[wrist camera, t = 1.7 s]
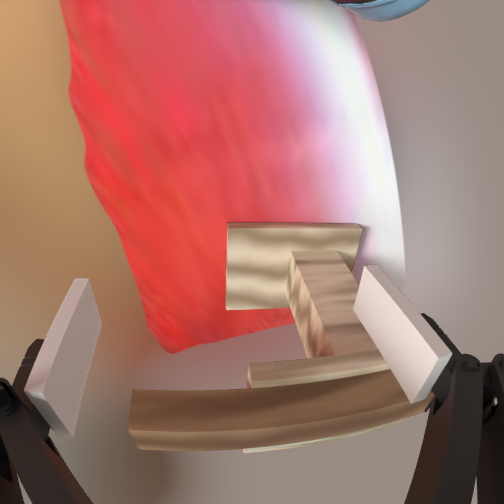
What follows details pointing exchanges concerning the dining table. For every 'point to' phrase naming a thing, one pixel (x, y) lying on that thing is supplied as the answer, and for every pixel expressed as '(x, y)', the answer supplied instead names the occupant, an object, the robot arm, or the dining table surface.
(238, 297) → the shelf stand
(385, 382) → the brown block
